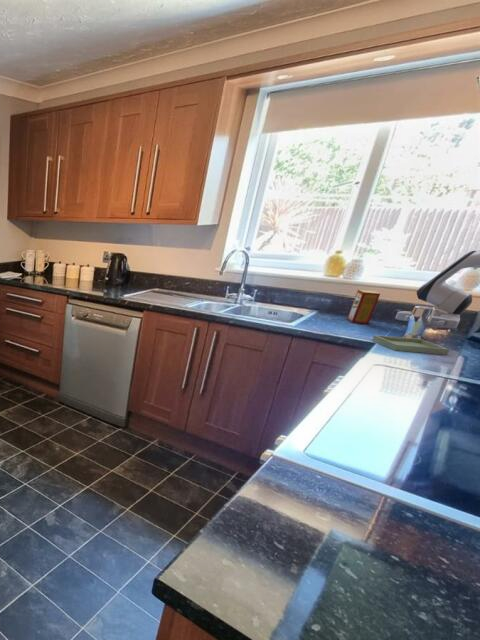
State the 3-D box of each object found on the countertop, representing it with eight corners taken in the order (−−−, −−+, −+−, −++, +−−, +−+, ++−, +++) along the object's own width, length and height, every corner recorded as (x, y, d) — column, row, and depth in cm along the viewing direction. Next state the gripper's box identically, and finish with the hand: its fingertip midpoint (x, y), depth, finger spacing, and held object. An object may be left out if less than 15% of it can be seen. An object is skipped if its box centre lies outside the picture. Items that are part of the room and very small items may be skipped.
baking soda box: (346, 318, 228) (358, 289, 222) (362, 320, 225) (374, 290, 219) (352, 322, 220) (363, 291, 214) (368, 324, 218) (380, 293, 212)
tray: (419, 344, 184) (422, 339, 184) (446, 354, 170) (449, 349, 170) (372, 340, 188) (374, 335, 188) (394, 350, 174) (397, 344, 174)
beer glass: (426, 342, 187) (441, 309, 181) (410, 342, 187) (425, 308, 181) (411, 338, 193) (425, 305, 187) (395, 337, 193) (409, 305, 187)
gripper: (403, 306, 203) (394, 309, 196) (465, 315, 187) (457, 319, 180) (398, 319, 205) (388, 322, 198) (458, 329, 189) (450, 333, 182)
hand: (421, 321), depth 189 cm, fingers open, 8 cm apart
